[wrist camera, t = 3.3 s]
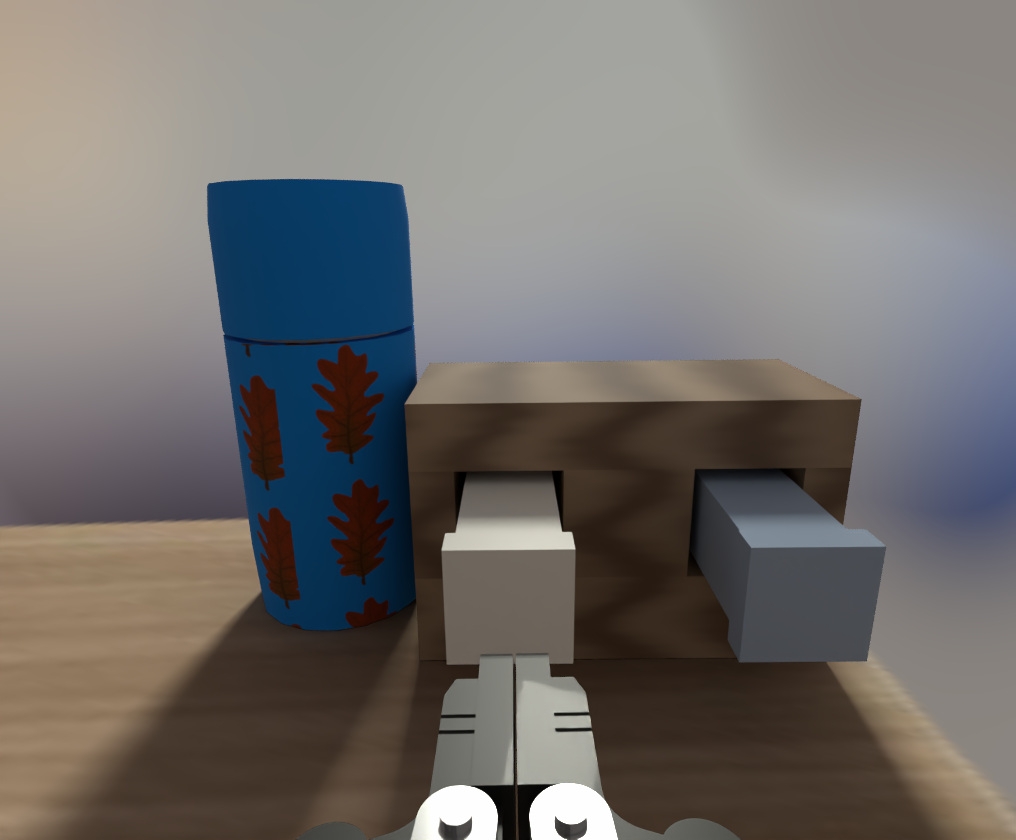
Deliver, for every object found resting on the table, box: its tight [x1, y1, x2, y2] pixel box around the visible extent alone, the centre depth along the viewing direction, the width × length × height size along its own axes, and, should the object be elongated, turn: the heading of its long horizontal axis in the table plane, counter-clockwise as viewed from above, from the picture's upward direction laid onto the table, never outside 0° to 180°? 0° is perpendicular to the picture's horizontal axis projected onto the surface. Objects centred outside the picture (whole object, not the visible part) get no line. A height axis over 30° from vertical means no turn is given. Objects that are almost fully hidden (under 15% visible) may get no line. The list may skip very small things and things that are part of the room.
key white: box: [442, 471, 575, 665], centre depth 31 cm, size 5×12×5 cm, turn 0°
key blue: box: [689, 468, 886, 662], centre depth 31 cm, size 5×12×5 cm, turn 0°
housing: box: [405, 359, 861, 660], centre depth 38 cm, size 22×10×14 cm, turn 90°
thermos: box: [207, 179, 417, 631], centre depth 39 cm, size 11×11×25 cm
